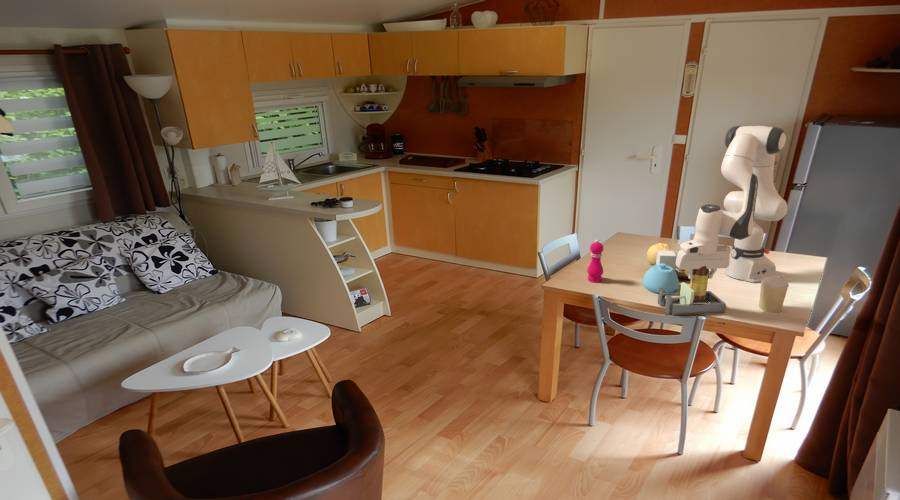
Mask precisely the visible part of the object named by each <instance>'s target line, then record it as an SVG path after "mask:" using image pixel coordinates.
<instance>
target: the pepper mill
mask: <svg viewBox="0 0 900 500" xmlns="http://www.w3.org/2000/svg"><path fill="white" fill-rule="evenodd" d="M604 248H605V247H604V244H602V243H601V242H600V240H599V239H595V241H594V242H593V243H591V244H590V247H589V250H590V256H591V261H590V264H589V265H588V267H587V269H586V270H587V271H586V272H587V275H588V276H587V280H588V281H589V282H591V283H601V281H603V280H602V278H603V274H604V267H603V265H602V262H601V258H602V256H603V252H604Z"/></svg>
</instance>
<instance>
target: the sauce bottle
mask: <svg viewBox="0 0 900 500" xmlns="http://www.w3.org/2000/svg"><path fill="white" fill-rule="evenodd" d="M709 272H710V269H707V268H706V266H704V267H701V268H700V269H693V270H692V272H691V273H692V274H693V275H694V279H690V283H689V287H690V288H691V289H692V290H694V291H695V292H694V299H699V300H700V299H704V298H705V295H706V291H708V284H709V283H708V282H709V278H708V276H709Z"/></svg>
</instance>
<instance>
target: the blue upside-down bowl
mask: <svg viewBox="0 0 900 500" xmlns="http://www.w3.org/2000/svg"><path fill="white" fill-rule="evenodd" d="M642 285H643V286H644V288H645V289H646V290H647V289H648V290H647V291H649V292H651V291H652V292H651V293H654V292H655V293H654V294H659V288H663V289H664V290H665V293H675V292H676V291H677V290H678V289H679V287H680V281H679V278H678V274H677V273H676V270H675V271H674V270H673V268H672V267H670V266H667V265H666V264H664V263H660V264H659V265H652V266H651V267H650V268H648V270H647V271H646V272H645V274H644V276H643V279H642Z"/></svg>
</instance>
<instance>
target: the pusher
mask: <svg viewBox="0 0 900 500" xmlns="http://www.w3.org/2000/svg"><path fill="white" fill-rule="evenodd" d="M679 292H680V296H671V297H672V298H673V299H678V298H679V302H678V303H679V305H682V304H694V302H693V299H694V292H695V291H694V290H692V289H691V288H690V285H689V284H687V283H685V282H684V281H683V282H681V284H680V291H679ZM665 299H666V297H665Z"/></svg>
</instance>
